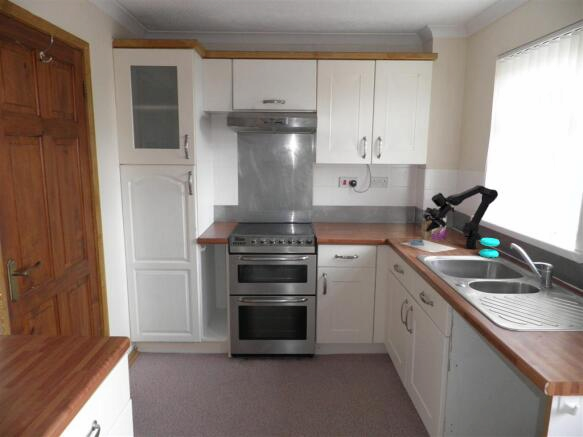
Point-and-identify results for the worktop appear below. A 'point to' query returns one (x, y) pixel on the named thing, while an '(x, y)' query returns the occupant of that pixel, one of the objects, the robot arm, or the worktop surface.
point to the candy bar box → (439, 231)
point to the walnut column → (424, 233)
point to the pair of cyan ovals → (488, 251)
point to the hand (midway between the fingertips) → (424, 230)
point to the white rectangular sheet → (430, 246)
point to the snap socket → (417, 242)
